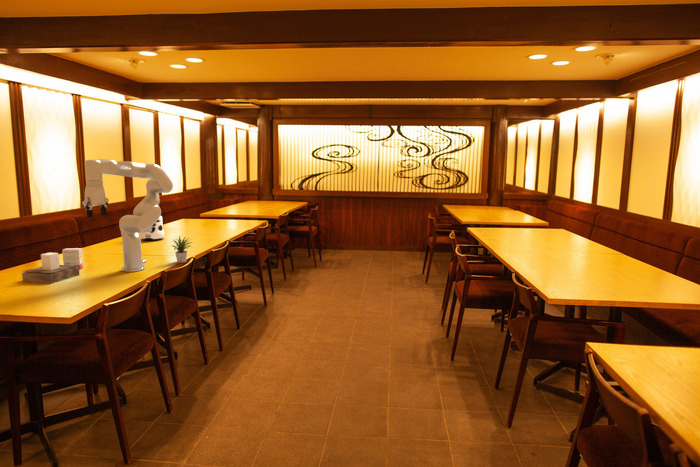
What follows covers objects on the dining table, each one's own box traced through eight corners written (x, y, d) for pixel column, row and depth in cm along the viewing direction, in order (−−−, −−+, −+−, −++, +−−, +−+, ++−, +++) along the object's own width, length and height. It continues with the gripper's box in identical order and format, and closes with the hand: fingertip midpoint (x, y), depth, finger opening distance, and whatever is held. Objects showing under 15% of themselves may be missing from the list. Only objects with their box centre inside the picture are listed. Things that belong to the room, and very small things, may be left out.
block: (51, 266, 245) (49, 252, 244) (59, 267, 244) (58, 253, 243) (42, 269, 240) (40, 254, 239) (51, 270, 239) (49, 255, 237)
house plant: (185, 265, 274) (183, 238, 272) (164, 264, 277) (163, 237, 274) (197, 260, 288) (196, 234, 285) (177, 259, 291) (176, 233, 288)
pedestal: (51, 272, 253) (51, 263, 253) (79, 274, 250) (78, 265, 249) (22, 281, 236) (21, 271, 235) (52, 283, 232) (51, 273, 232)
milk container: (160, 236, 368) (159, 214, 365) (167, 240, 355) (166, 217, 352) (137, 239, 357) (136, 216, 354) (144, 242, 344) (143, 219, 341)
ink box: (83, 267, 266) (81, 247, 265) (80, 269, 262) (78, 249, 260) (67, 267, 265) (65, 248, 263) (63, 269, 260) (61, 249, 258)
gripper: (100, 182, 245) (103, 214, 248) (75, 184, 229) (78, 218, 231) (112, 183, 244) (115, 214, 247) (88, 184, 227) (90, 218, 230)
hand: (97, 216), depth 239 cm, fingers open, 9 cm apart
